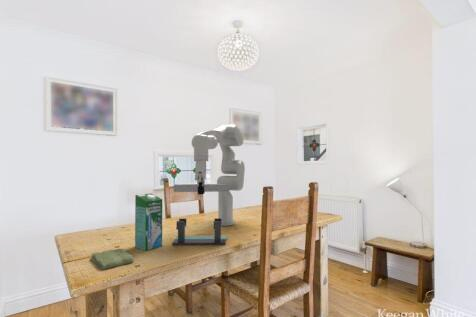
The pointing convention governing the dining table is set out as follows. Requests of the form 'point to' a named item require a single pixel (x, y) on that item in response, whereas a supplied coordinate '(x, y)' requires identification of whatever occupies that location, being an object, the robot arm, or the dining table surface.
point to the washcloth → (111, 258)
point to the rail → (206, 188)
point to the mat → (202, 238)
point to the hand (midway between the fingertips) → (201, 193)
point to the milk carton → (148, 221)
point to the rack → (181, 240)
